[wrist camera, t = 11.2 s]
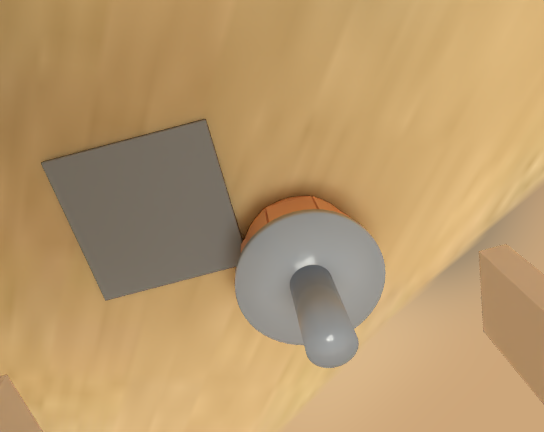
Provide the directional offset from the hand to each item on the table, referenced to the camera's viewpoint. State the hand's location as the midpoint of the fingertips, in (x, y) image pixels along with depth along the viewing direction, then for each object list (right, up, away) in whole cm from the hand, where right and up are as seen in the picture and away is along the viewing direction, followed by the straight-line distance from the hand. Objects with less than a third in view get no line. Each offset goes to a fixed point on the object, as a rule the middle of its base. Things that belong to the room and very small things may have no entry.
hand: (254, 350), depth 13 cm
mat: (-10, +4, +29) cm, 31 cm away
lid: (+4, -2, +27) cm, 27 cm away
